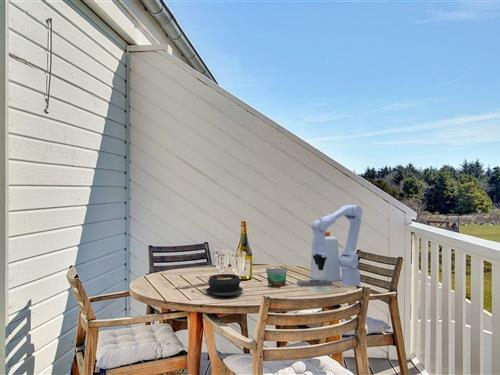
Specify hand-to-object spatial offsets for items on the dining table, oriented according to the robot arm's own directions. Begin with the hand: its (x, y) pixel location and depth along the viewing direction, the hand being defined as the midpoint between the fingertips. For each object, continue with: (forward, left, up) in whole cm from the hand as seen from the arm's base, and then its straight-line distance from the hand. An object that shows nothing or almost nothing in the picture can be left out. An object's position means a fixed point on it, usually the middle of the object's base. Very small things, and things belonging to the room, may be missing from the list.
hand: (319, 269), depth 204 cm
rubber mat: (0, +1, -10) cm, 10 cm away
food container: (+20, -10, -11) cm, 25 cm away
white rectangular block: (0, 0, -4) cm, 4 cm away
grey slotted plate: (0, -9, -10) cm, 14 cm away
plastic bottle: (-11, -23, -11) cm, 28 cm away
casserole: (+50, 0, -11) cm, 51 cm away
